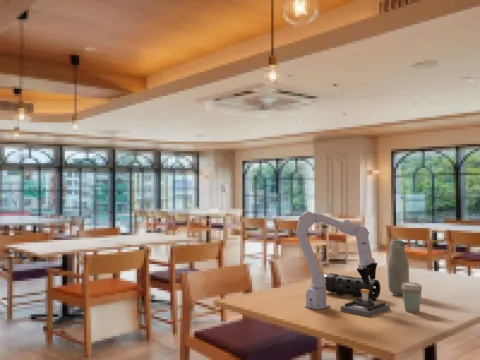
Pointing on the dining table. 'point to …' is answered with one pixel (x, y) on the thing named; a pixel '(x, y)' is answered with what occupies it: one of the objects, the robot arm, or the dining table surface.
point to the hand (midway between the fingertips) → (369, 281)
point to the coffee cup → (412, 296)
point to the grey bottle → (397, 267)
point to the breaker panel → (365, 307)
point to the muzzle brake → (351, 286)
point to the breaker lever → (364, 294)
